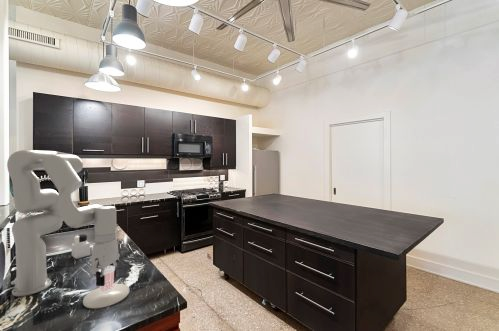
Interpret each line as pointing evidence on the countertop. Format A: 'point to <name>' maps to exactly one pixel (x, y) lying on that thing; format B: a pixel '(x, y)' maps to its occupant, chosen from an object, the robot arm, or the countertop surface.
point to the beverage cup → (108, 280)
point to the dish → (105, 297)
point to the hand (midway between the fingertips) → (106, 280)
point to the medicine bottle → (80, 246)
